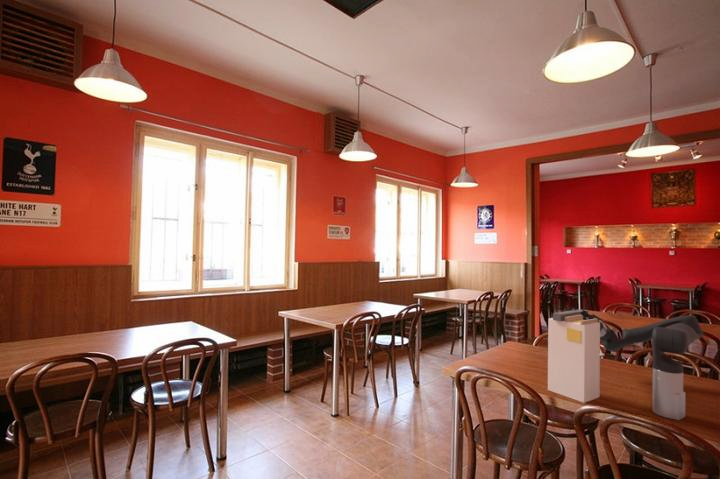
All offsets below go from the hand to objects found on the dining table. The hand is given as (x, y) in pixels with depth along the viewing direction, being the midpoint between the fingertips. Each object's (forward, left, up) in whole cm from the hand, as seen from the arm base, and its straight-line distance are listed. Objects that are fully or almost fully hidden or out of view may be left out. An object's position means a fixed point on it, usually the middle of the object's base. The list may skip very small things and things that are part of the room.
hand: (577, 310), depth 175 cm
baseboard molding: (+26, -50, -36) cm, 67 cm away
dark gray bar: (0, +6, -3) cm, 6 cm away
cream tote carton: (-4, +10, -35) cm, 36 cm away
